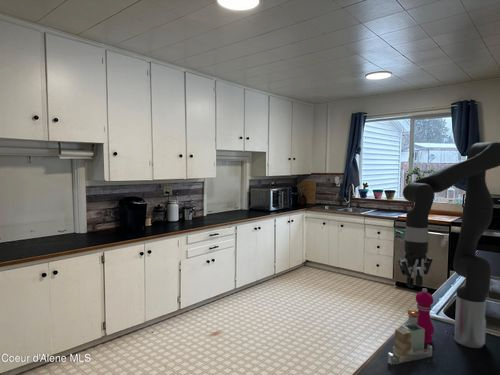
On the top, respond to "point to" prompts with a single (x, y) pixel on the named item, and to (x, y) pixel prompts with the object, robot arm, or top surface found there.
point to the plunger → (413, 319)
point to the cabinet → (416, 337)
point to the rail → (415, 355)
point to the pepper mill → (425, 313)
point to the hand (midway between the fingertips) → (414, 286)
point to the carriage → (402, 345)
